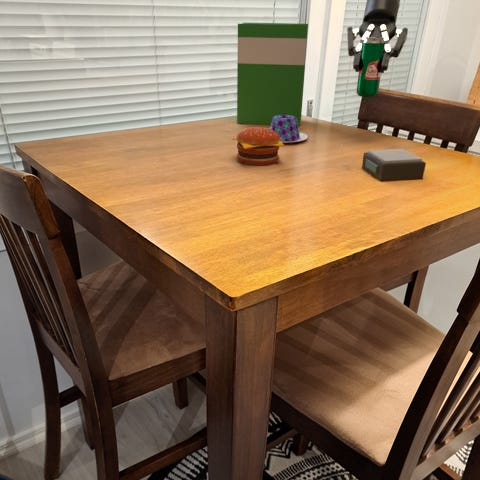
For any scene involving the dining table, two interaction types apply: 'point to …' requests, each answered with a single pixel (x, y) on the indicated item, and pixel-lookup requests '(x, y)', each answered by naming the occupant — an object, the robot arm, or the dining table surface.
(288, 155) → the dining table surface
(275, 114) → the hardback book
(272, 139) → the hamburger
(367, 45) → the soda can
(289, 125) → the pudding
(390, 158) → the scale
